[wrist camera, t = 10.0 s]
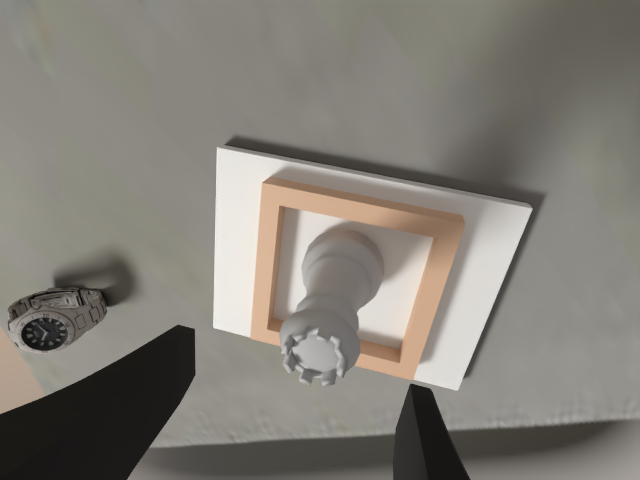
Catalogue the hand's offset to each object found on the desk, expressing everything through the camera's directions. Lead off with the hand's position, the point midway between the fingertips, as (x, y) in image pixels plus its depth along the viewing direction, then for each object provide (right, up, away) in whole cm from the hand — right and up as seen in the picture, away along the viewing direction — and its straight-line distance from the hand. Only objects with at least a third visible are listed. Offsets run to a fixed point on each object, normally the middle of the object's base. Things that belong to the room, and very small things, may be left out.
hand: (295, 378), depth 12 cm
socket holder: (+2, +3, +10) cm, 11 cm away
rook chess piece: (+2, +3, +9) cm, 10 cm away
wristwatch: (-17, +1, +16) cm, 23 cm away
